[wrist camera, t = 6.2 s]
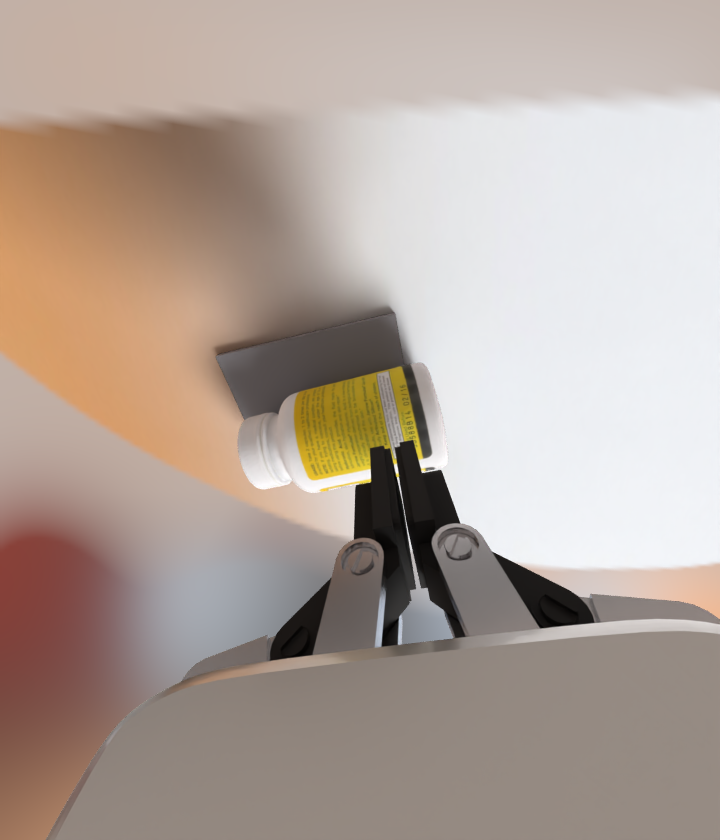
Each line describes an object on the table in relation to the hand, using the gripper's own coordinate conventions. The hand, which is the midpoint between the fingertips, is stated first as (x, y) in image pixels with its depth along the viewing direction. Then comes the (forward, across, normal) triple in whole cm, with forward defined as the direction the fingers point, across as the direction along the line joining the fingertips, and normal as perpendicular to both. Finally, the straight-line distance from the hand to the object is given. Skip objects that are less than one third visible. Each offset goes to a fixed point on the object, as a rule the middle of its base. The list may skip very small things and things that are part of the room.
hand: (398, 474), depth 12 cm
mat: (+8, +4, 0) cm, 9 cm away
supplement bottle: (+4, -3, 0) cm, 5 cm away
